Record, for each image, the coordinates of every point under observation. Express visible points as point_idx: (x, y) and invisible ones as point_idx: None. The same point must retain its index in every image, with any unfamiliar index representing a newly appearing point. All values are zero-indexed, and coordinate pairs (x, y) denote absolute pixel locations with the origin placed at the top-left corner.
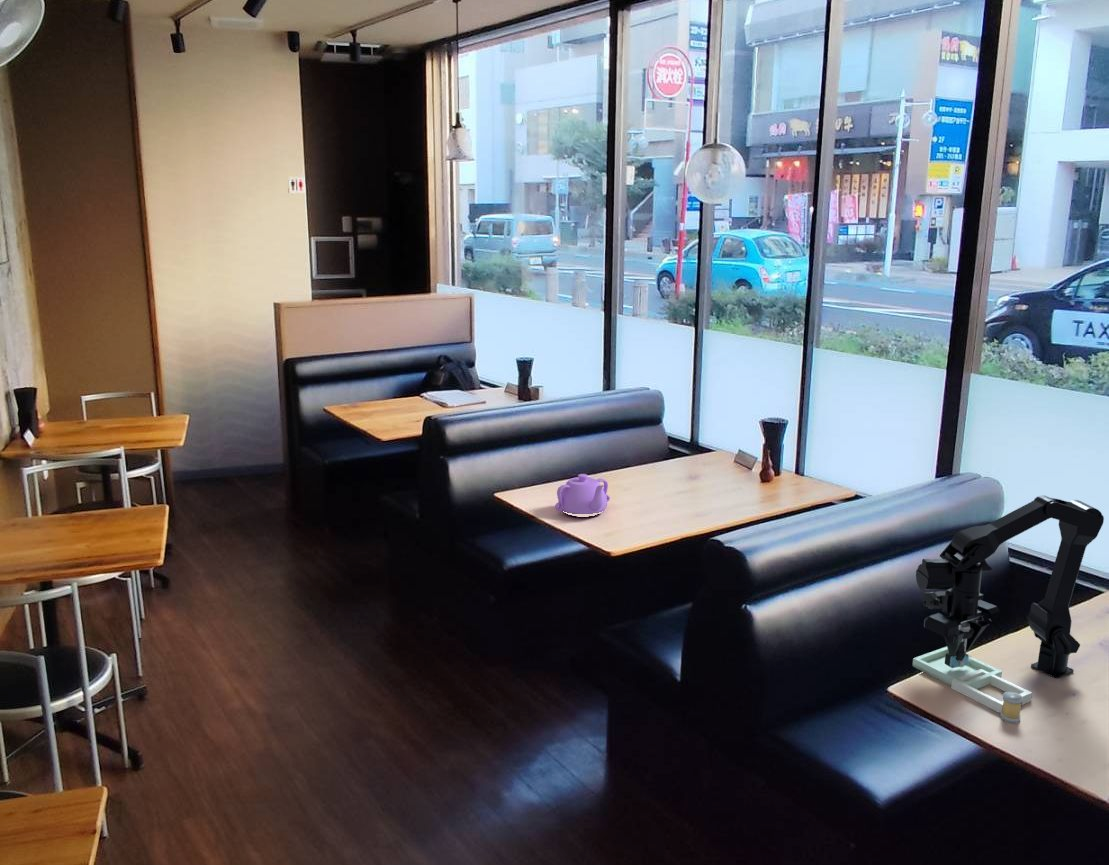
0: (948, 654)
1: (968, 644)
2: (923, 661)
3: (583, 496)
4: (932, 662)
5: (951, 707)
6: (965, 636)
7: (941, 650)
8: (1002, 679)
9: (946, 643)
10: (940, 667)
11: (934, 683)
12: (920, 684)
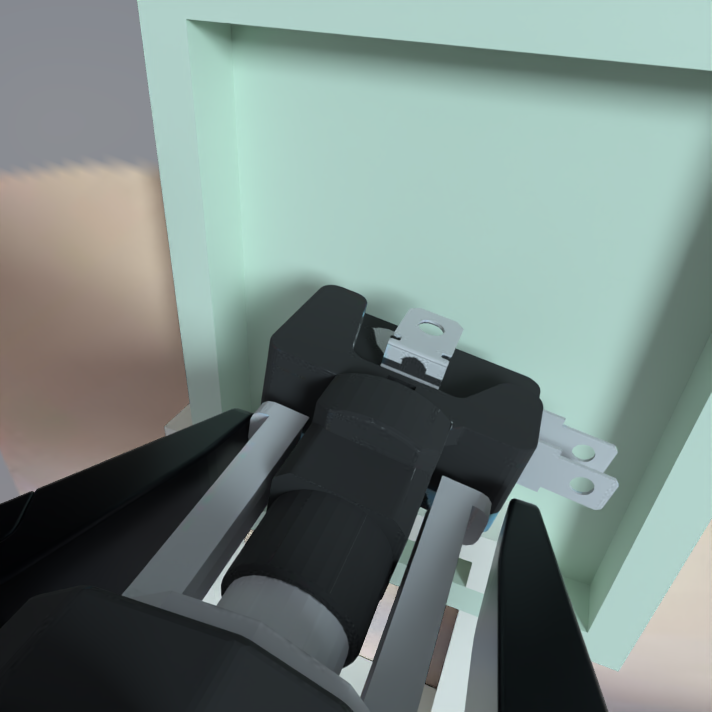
0: (272, 376)
1: (474, 642)
2: (179, 93)
3: None
4: (398, 84)
5: (72, 446)
6: None
7: (688, 43)
8: (469, 667)
9: (79, 475)
10: (367, 212)
11: (158, 282)
12: (65, 220)
